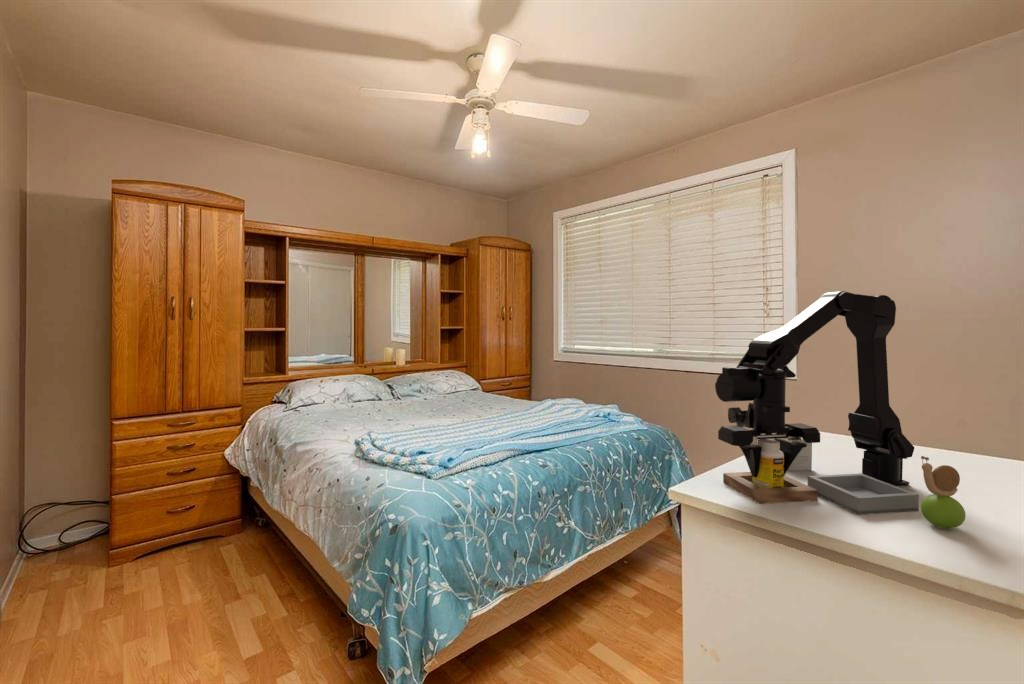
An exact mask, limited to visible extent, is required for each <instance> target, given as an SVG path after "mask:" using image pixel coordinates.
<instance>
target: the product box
mask: <svg viewBox="0 0 1024 684" xmlns="http://www.w3.org/2000/svg"><path fill="white" fill-rule="evenodd" d="M801 439H802V437H801ZM771 440H775V439H771ZM802 443H804V444H807V447H804V448H802V450H801V451H800V452H799V454H798V455H797V456H796V458H795V459H794V461H793V462H792V464H791V465H790V467H789V469H788V470H787V472H791V471H811V470H812V469H813V467H812V466H813V464H812V462H813V443H807V442H805V441H804V440H803V439H802Z"/></svg>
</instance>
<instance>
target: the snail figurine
mask: <svg viewBox="0 0 1024 684" xmlns="http://www.w3.org/2000/svg"><path fill="white" fill-rule="evenodd" d="M920 459H922V465H921V470H922V472H923V480H924V483H925V487H926V489H927V490H928V492H930V493H931V494H930V495H928V496H926V497H924V499H923V500H922V501H921V504H920V512H921V514H922V515H923V517H924V518H925V520H926V521H928V523H930V524H931V525H933V526H935V527H938V528H941V529H944V530H945V529H947V530H949V529H956V528H958V527H961V525H963V523H964V522H965V521H966V510H965V508H964V507H963V505H962V504H961V502H959V501H958V500H957V499H956V498H954V497H952V496H954V495H955V494H956V493H958V490H959V489H958V487H959V485H960V482H961V476H960V474H959V471H958V470H957V469H956V468H955V467H953V466H952V465H951V466H950V465H946V464H943V465H939V466H936V467H935V468H934V469H933V465H932V464H931V463H928V461H929V460H930V458H929V457H928V456H925V455H922V456H920ZM924 460H925V461H926V462H924Z"/></svg>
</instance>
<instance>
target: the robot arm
mask: <svg viewBox="0 0 1024 684" xmlns="http://www.w3.org/2000/svg"><path fill="white" fill-rule="evenodd" d="M896 315H897V307H896V302H895V300H894V299H892V298H891V297H890V296H889V295H886V294H880V295H879V294H877V295H876V294H875V295H864V294H857V293H852V292H850V291H849V292H848V291H845V290H843V291H842V290H841V291H831V292H825V293H823V294H822V295H820V297H819V298H818V299H817V300H815V302H813V303H812V304H810V305H809V306H807V308H806V309H804V310H803V311H801V312H800V313H799V314H798V315H796V316H795V317H794V318H792V319H791V320H790V321H788V322H787V323H786V324H784V325H783V326H781V327H779V328H778V329H775V330H772V331H768V332H766V333H763V334H761V335H760V336H758V337H757V336H756V337H755V338H754V339H752V340H751V341H750V342H749V344H748V349H747V351H746V352H745V353H744V355H743V357H742V358H741V359H740V361H739V363H738V364H737V366H736V367H731V366H730V367H729V366H726V367H725V366H724V367H722V369H721V371H722V372H721V373H720V374H719V375H718V377H717V379H716V382H715V384H714V385H715V388H714V389H715V393H716V395H717V397H718V398H719V400H720V401H722V402H723V403H724V402H725V403H729V402H748V406H747V407H748V408H747V409H746V410H742V409H741V408H740V407H739V406H738V407H737V406H736V407H729V408H728V410H727V411H728V412H727V419H728V422H729V423H730V424H736V425H722V426H720V428H719V430H718V431H717V435H718V436H717V437H718V438H717V439H718V440H719V441H722V442H724V443H726V444H729V445H731V446H735V447H739V448H740V450H741V452H742V454H743V455H744V457H745V460H746V463H747V467H748V469H749V472H751V474H752V476H753V477H757V475H758V472H759V465H760V458H761V451H762V447H761V446H759V445H757V444H758V440H759V439H771V440H772V439H775V440H776V441H779V442H780V451H782V452H783V453H784V475H786V473H787V472H788V469H789V467H790V465H791V464H792V462H793V461H794V459H795V458H796V456H797V455H798V454H799V452H800V451H801V450H802V448H804V447H807V444H804V443H802V439H803V440H804V441H805V442H807V443H812V444H815V443H817V444H818V443H819V444H820V443H821V432H820V430H819V429H818V428H817V427H815V426H811V425H808V424H804V423H801V422H799V423H798V422H795V423H786V413H790V412H791V407H790V406H788V405H786V387H787V385H786V379H787V378H790V379H791V378H793V379H794V378H796V375H797V374H796V373H794V372H793V371H792V370H791V369H789V366H788V365H789V364H790V363H791V361H793V360H794V359H795V357H797V355H799V352H800V348H801V345H803V343H804V342H805V341H806V340H807V341H808V339H809V338H810V337H812V336H814V335H815V333H817V332H818V331H820V330H821V329H822V328H824V327H825V326H826V325H827V324H828V323H830V322H831V321H832V320H834V319H835V318H836V317H837V316H840V317H844V318H845V324H846V327H847V329H848V330H849V331H850V333H852V335H853V337H854V338H855V341H856V346H855V347H856V359H857V361H856V362H857V379H858V382H857V383H858V397H859V398H858V399H859V405H858V406H857V408H856V409H855V410H854V412H848V416H847V418H848V428H847V430H848V431H849V432H850V434H851V437H852V438H853V441H854V444H855V448H856V449H861V450H863V457H862V459H861V461H862V463H861V473H862V474H864V475H867V476H870V477H872V478H875V479H878V480H881V481H883V482H886V483H889V484H891V485H894V486H907V485H910V482H909V480H908V481H907V480H905V479H903V468H904V467H903V462H904V461H903V460H907V459H908V458H912V457H913V455H914V451H915V446H914V445H913V444H912V443H911V441H910V440H908V438H907V437H906V435H905V434H903V431H902V427H901V420H900V418H899V417H898V415H897V414H896V413H895V411H894V410H893V409H892V407H891V406H890V393H889V375H888V372H889V371H888V356H887V355H888V354H887V352H888V351H887V336H888V335H889V333H890V331H892V330H893V327H894V326H895V323H896ZM750 401H752V402H750ZM747 428H748V429H747ZM801 437H802V439H801Z"/></svg>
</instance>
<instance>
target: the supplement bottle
mask: <svg viewBox="0 0 1024 684" xmlns="http://www.w3.org/2000/svg"><path fill="white" fill-rule="evenodd" d="M757 445H759V446H761V447H762V451H761V458H760V465H759V472H758V475H757V477H753V484H755V485H757V486H759V487H761V488H762V489H767V488H783V487H784V453H783V452H782V451H780V442H779V441H776V440H772V439H757Z"/></svg>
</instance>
